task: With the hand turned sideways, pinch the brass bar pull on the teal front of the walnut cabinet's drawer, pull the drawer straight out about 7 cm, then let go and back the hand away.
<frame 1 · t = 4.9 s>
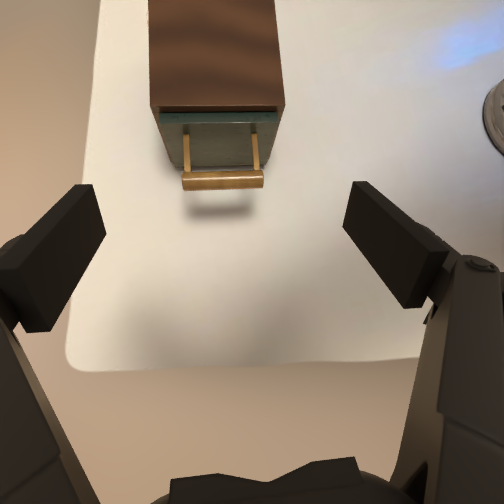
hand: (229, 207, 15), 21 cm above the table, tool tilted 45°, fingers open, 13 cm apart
cabinet: (217, 110, 39), on the table
drawer: (218, 116, 33), point 5 cm above the table, slide at 0.0 cm, touching cabinet
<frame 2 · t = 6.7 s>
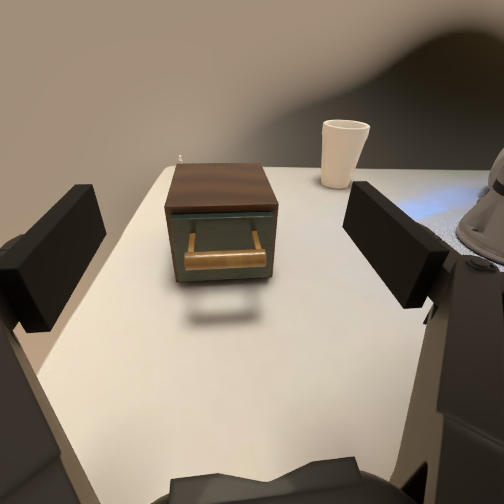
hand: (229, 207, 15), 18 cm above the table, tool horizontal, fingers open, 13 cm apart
foam cup: (334, 184, 69), on the table
cabinet: (223, 248, 45), on the table
drawer: (223, 234, 38), point 5 cm above the table, slide at 0.0 cm, touching cabinet
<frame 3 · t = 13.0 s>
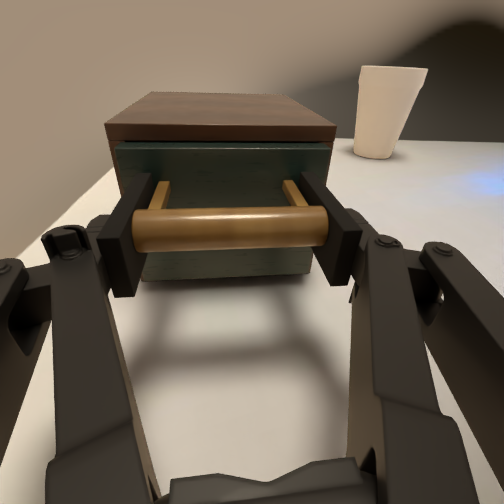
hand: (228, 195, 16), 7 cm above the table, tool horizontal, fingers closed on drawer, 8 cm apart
foam cup: (371, 154, 52), on the table
cabinet: (224, 228, 28), on the table
drawer: (225, 196, 21), point 5 cm above the table, slide at 0.0 cm, touching gripper
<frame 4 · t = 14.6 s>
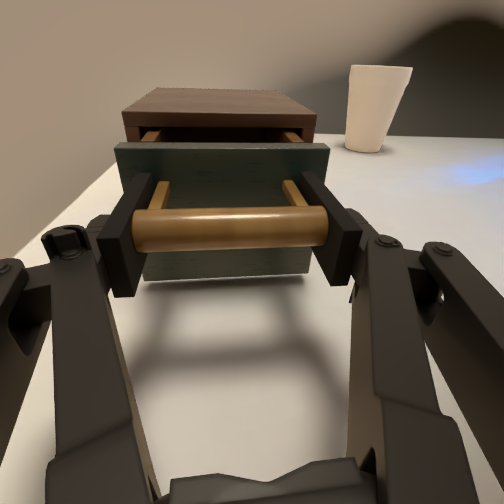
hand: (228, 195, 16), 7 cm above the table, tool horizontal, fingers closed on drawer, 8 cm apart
foam cup: (361, 148, 55), on the table
cabinet: (222, 211, 31), on the table
drawer: (225, 196, 21), point 5 cm above the table, slide at 3.8 cm, touching gripper
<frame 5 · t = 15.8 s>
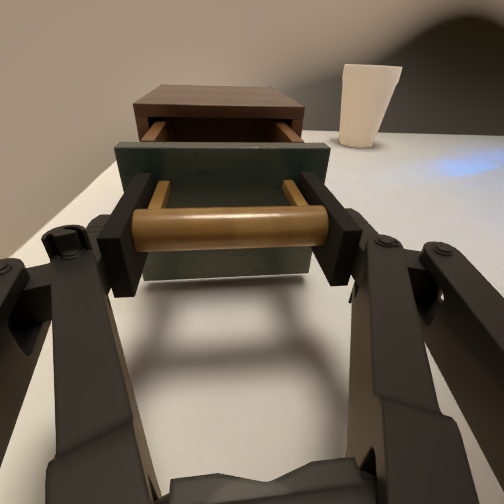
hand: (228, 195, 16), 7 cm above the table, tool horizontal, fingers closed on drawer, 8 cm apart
foam cup: (355, 144, 58), on the table
cabinet: (222, 198, 34), on the table
drawer: (225, 196, 21), point 5 cm above the table, slide at 7.0 cm, touching gripper
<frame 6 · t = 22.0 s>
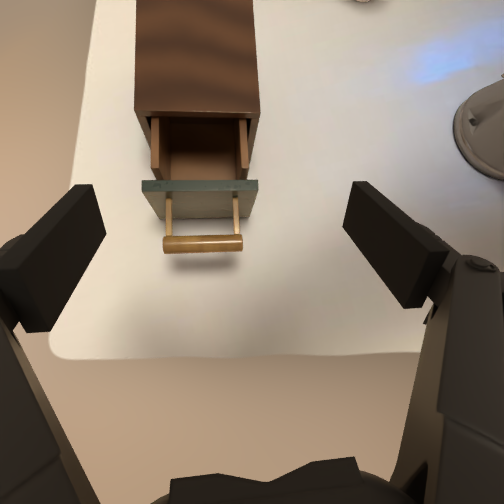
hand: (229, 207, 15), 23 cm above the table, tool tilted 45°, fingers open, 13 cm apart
cabinet: (202, 115, 42), on the table
drawer: (202, 175, 34), point 5 cm above the table, slide at 7.0 cm
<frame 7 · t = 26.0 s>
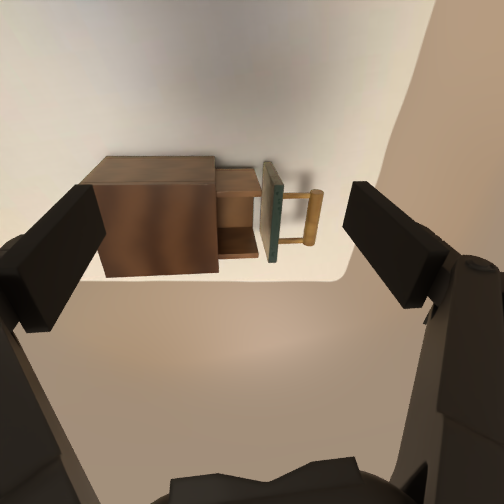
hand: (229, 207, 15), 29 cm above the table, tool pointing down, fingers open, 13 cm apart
cabinet: (167, 198, 45), on the table
drawer: (247, 212, 42), point 5 cm above the table, slide at 7.0 cm
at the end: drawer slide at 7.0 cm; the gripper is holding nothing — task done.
